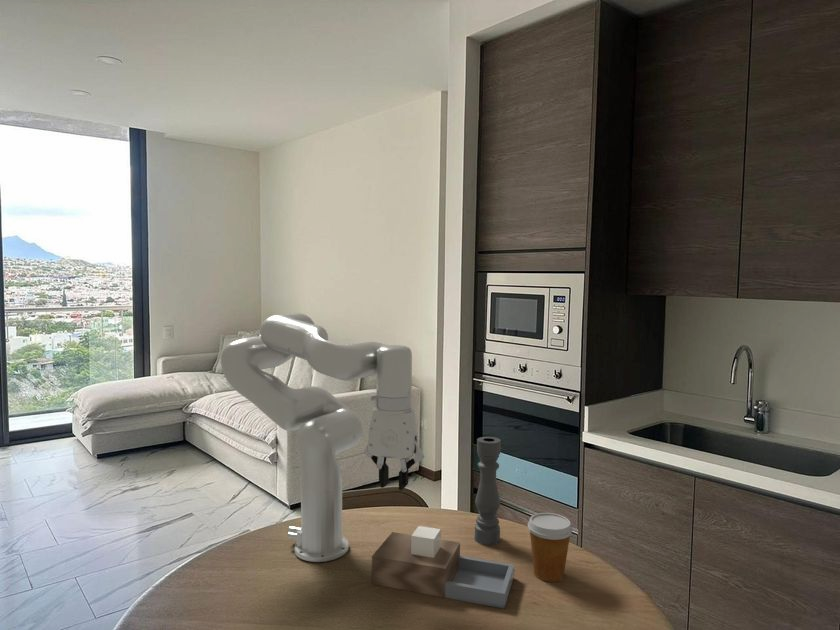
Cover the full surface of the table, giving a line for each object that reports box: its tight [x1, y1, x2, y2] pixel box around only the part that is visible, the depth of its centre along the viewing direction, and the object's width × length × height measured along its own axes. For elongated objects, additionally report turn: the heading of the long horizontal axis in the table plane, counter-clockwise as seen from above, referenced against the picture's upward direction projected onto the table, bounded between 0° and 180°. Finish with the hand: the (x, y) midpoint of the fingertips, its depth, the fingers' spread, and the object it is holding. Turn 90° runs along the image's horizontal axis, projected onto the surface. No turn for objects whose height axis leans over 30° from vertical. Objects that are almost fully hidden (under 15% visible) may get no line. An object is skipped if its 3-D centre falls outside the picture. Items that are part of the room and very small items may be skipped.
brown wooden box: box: [371, 531, 461, 598], centre depth 122 cm, size 16×12×6 cm
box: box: [444, 555, 515, 610], centre depth 118 cm, size 12×12×3 cm
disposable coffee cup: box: [527, 512, 573, 583], centre depth 123 cm, size 10×10×12 cm
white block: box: [410, 525, 442, 558], centre depth 121 cm, size 5×5×4 cm
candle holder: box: [474, 436, 502, 546], centre depth 139 cm, size 6×6×25 cm
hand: (393, 485), depth 123 cm, fingers open, 3 cm apart
